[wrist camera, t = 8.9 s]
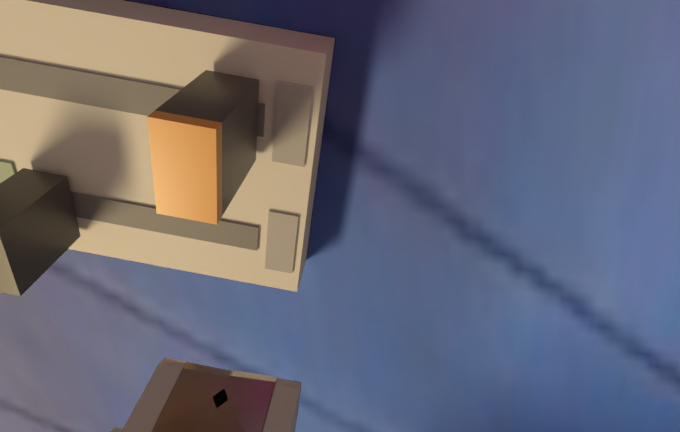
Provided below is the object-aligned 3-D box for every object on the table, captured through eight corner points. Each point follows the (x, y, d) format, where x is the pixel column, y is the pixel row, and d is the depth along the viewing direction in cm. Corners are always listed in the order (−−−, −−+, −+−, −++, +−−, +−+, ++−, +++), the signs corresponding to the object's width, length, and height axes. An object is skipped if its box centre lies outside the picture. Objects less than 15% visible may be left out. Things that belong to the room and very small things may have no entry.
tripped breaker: (255, 160, 22) (216, 224, 18) (207, 151, 22) (156, 213, 18) (259, 79, 20) (216, 129, 15) (205, 69, 20) (146, 116, 16)
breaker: (80, 236, 26) (20, 296, 22) (40, 228, 26) (-28, 286, 22) (67, 176, 24) (-3, 230, 20) (23, 168, 24) (-56, 220, 20)
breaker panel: (305, 260, 30) (296, 293, 27) (37, 210, 30) (2, 238, 28) (335, 38, 22) (325, 54, 19) (-28, -27, 22) (-86, -19, 20)
